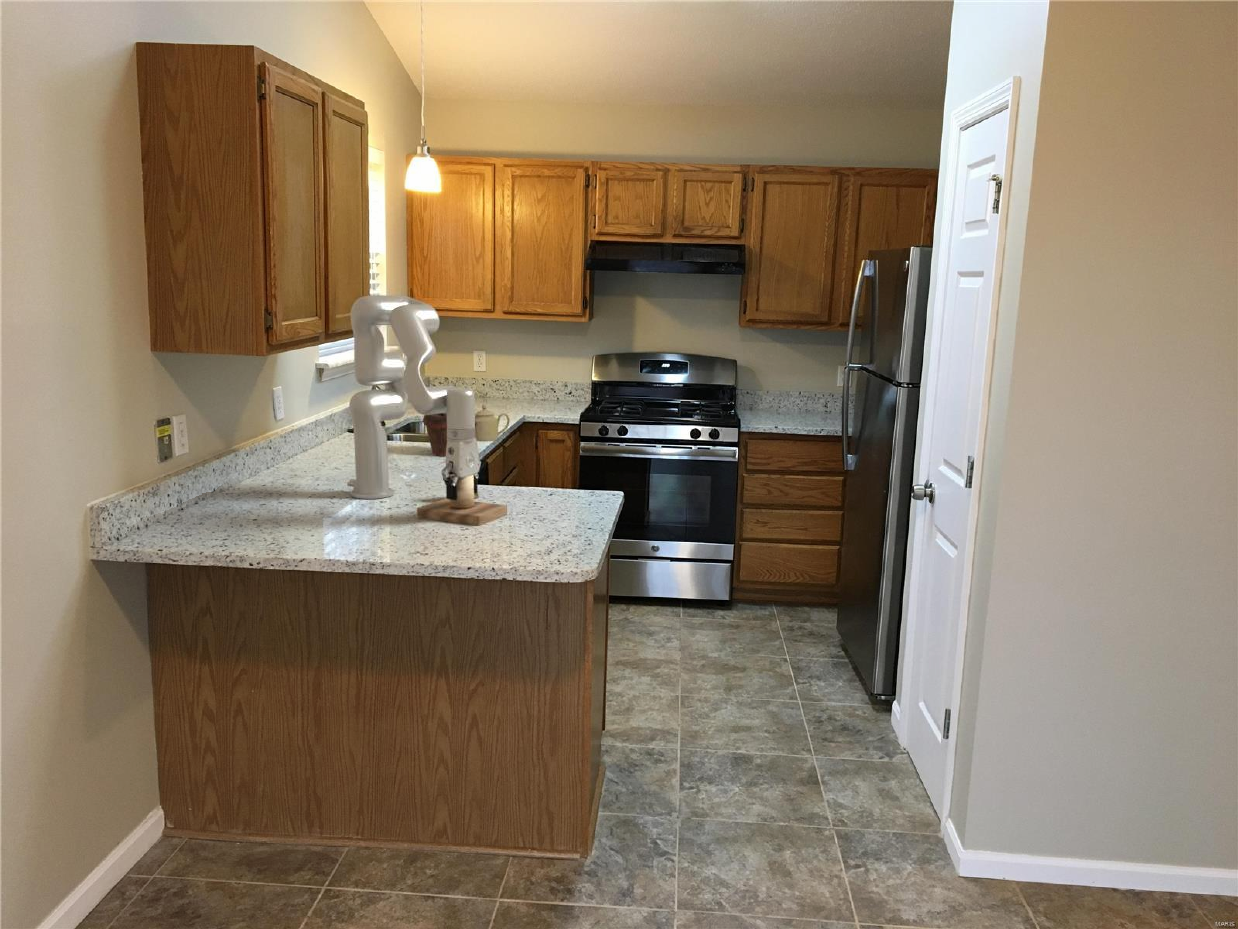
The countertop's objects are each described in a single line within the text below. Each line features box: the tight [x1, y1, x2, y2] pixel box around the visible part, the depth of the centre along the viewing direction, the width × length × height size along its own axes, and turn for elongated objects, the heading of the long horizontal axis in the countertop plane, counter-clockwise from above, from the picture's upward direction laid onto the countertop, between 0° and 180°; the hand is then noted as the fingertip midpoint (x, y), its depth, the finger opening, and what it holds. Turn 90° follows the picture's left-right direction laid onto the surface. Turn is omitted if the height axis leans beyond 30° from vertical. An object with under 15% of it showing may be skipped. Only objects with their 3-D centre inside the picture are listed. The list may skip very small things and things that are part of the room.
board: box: [416, 498, 508, 526], centre depth 257 cm, size 20×14×3 cm
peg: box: [450, 475, 475, 510], centre depth 256 cm, size 6×6×12 cm
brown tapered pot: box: [422, 413, 477, 458], centre depth 353 cm, size 18×20×18 cm
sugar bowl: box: [475, 403, 511, 442], centre depth 391 cm, size 15×11×15 cm
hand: (462, 496), depth 256 cm, fingers open, 9 cm apart
